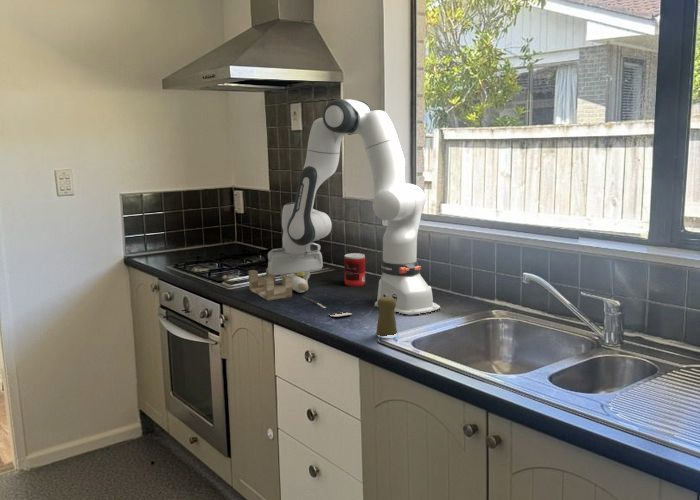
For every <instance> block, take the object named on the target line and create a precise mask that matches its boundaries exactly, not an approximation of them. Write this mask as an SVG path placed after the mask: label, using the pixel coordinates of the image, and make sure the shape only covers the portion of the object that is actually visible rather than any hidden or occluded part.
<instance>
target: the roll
mask: <svg viewBox="0 0 700 500" xmlns="http://www.w3.org/2000/svg"><path fill="white" fill-rule="evenodd" d="M287 276H290V277H292V291H295V292H297V293H300V294H301V293H304V292H307V291H308V290H309V288H310V287H309V284H308V283H307V281H306V280H305V279H302V278H300V277H298V276H296V275H294V273H291V274H287Z"/></svg>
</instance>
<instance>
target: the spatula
mask: <svg viewBox="0 0 700 500" xmlns="http://www.w3.org/2000/svg"><path fill="white" fill-rule="evenodd" d="M302 299H304V300H305V301H308V302H310V303H312V304H314V305H318V306H319V307H321V308H323V309H324V308H327V307H326V306H324V305H323V304H321V303H320V302H319V301H317V300H314V299H311V298H309V297H306V296H302ZM341 313H342V314H337V313H334V314H335V315H330V314H329V315H330V316H329V317H335V318H337V317H338V318H339V317H344V316H351V315H353V313H351V312H346V313H343V312H341Z"/></svg>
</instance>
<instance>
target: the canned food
mask: <svg viewBox="0 0 700 500" xmlns="http://www.w3.org/2000/svg"><path fill="white" fill-rule="evenodd" d="M343 259H344V260H343V261H344V262H343V263H344V264H343V266H344V267H343V268H344V284H345V286H348V287H352V288H353V287H355V288H357V287H362V286H364V285H365V284H366V256H365V254H364V253H359V252H357V253H355V252H353V253H346V254H345V255H344V257H343Z"/></svg>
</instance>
